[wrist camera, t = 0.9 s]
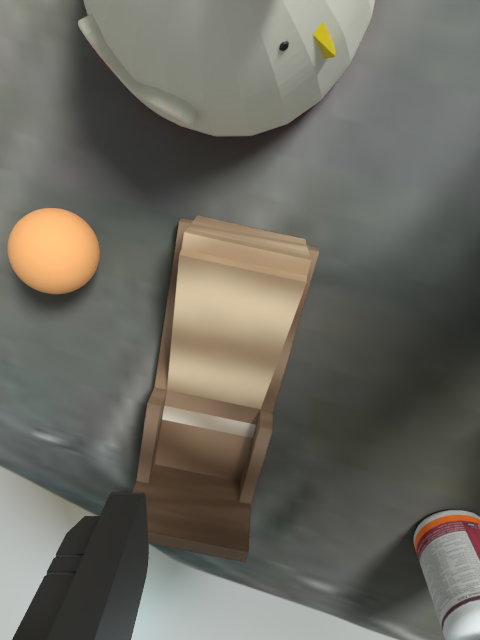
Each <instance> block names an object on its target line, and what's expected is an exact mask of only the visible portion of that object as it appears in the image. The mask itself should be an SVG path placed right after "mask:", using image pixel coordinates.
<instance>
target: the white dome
mask: <svg viewBox="0 0 480 640" xmlns="http://www.w3.org/2000/svg"><path fill="white" fill-rule="evenodd" d="M83 1H84V4H85V8H86V11H87V15H88V16H86V17H84V18H82V19H80V20H78V26H79V28H80V29H81V31H82V33H83V34H84V36H85V37H86V38H87V40H88V41H89V43H90V44H91V45H92V47H93V48H94V49H95V51H96V52H97V53H98V55H99V56H100V57H101V58H102V60H103V61H104V62H105V63H106V64H107V66H108V67H109V68H110V69H111V70H112V71H113V73H114V74H115V75H116V76H117V77H118V78H119V79H120V80H121V82H122V83H123V84H124V85H125V86H126V87H127V88H128V89H129V90H130V91H131V92H132V93H133V94H134V95H135V96H136V97H137V98H138V99H139V100H140V101H141V102H142V103H144V104H145V105H146V106H147V107H149V108H150V109H151V110H153V111H154V112H156V113H157V114H159V115H160V116H162V117H164V118H165V119H167V120H169V121H171V122H174V123H176V124H178V125H179V126H182V127H186V128H189V129H192V130H195V131H199V132H202V133H205V134H209V135H212V136H253V135H256V134H259V133H262V132H265V131H268V130H271V129H274V128H277V127H280V126H283V125H286V124H288V123H290V122H291V121H293V120H294V119H295V118H297V117H298V116H300V115H301V114H302V113H304V112H305V111H307V110H308V109H310V108H311V107H312V106H314V105H315V104H317V103H318V102H320V101H321V100H322V98H323V97H324V96H325V95H326V94H327V92H328V91H329V90H330V89H331V88H332V86H333V85H334V84H335V83H336V82H337V80H338V79H339V78H340V77H341V75H342V74H343V73H344V72H345V71H346V69H347V68H348V67H349V65H350V63H351V61H352V59H353V57H354V54H355V52H356V50H357V48H358V46H359V44H360V42H361V40H362V38H363V35H364V33H365V31H366V29H367V27H368V25H369V23H370V21H371V17H372V12H373V7H374V2H375V0H83Z"/></svg>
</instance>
